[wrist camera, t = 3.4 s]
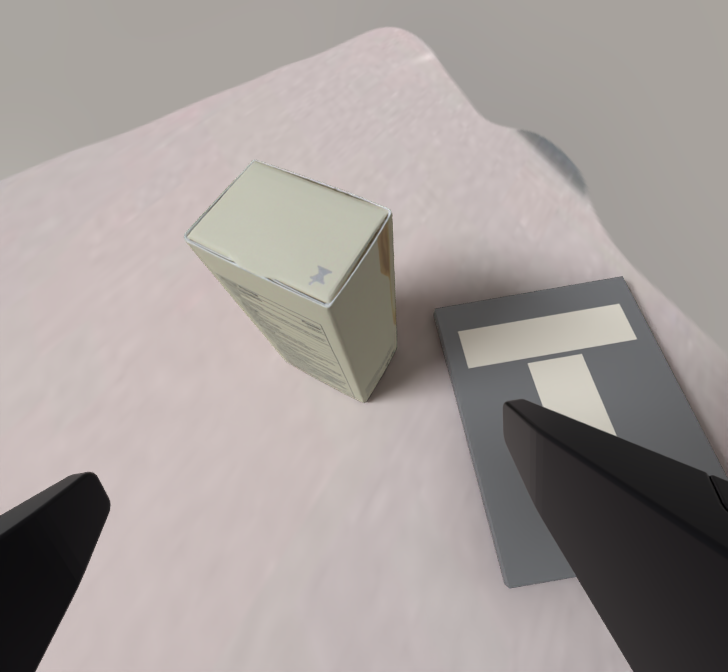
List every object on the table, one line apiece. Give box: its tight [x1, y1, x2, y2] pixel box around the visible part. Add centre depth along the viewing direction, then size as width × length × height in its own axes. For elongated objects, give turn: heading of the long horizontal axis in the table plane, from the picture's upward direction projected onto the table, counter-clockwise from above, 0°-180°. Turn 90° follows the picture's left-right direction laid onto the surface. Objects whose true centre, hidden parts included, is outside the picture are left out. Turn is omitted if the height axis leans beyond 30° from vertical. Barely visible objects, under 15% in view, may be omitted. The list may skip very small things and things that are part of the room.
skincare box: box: [184, 160, 397, 403], centre depth 18 cm, size 6×4×12 cm
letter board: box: [434, 276, 728, 588], centre depth 21 cm, size 15×12×1 cm
